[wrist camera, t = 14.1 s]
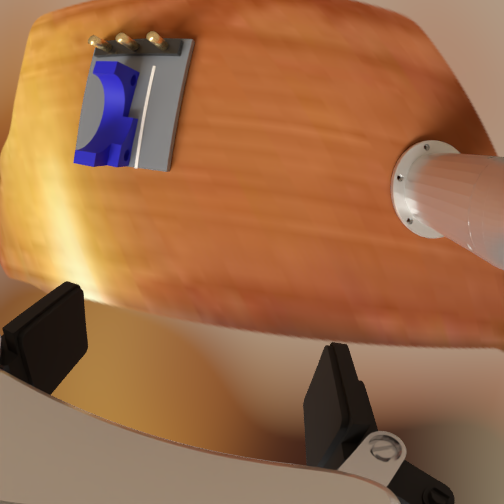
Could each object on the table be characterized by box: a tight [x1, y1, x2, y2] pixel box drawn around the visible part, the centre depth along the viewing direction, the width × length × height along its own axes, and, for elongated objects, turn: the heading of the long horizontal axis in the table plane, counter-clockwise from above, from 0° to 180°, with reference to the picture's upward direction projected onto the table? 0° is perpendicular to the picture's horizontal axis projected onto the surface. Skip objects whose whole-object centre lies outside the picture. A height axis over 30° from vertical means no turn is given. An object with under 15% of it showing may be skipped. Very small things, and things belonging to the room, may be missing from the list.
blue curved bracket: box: [74, 61, 139, 167], centre depth 31 cm, size 12×4×6 cm, turn 166°
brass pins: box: [88, 31, 184, 58], centre depth 29 cm, size 12×2×5 cm, turn 80°
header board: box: [76, 38, 195, 172], centre depth 34 cm, size 14×17×1 cm
